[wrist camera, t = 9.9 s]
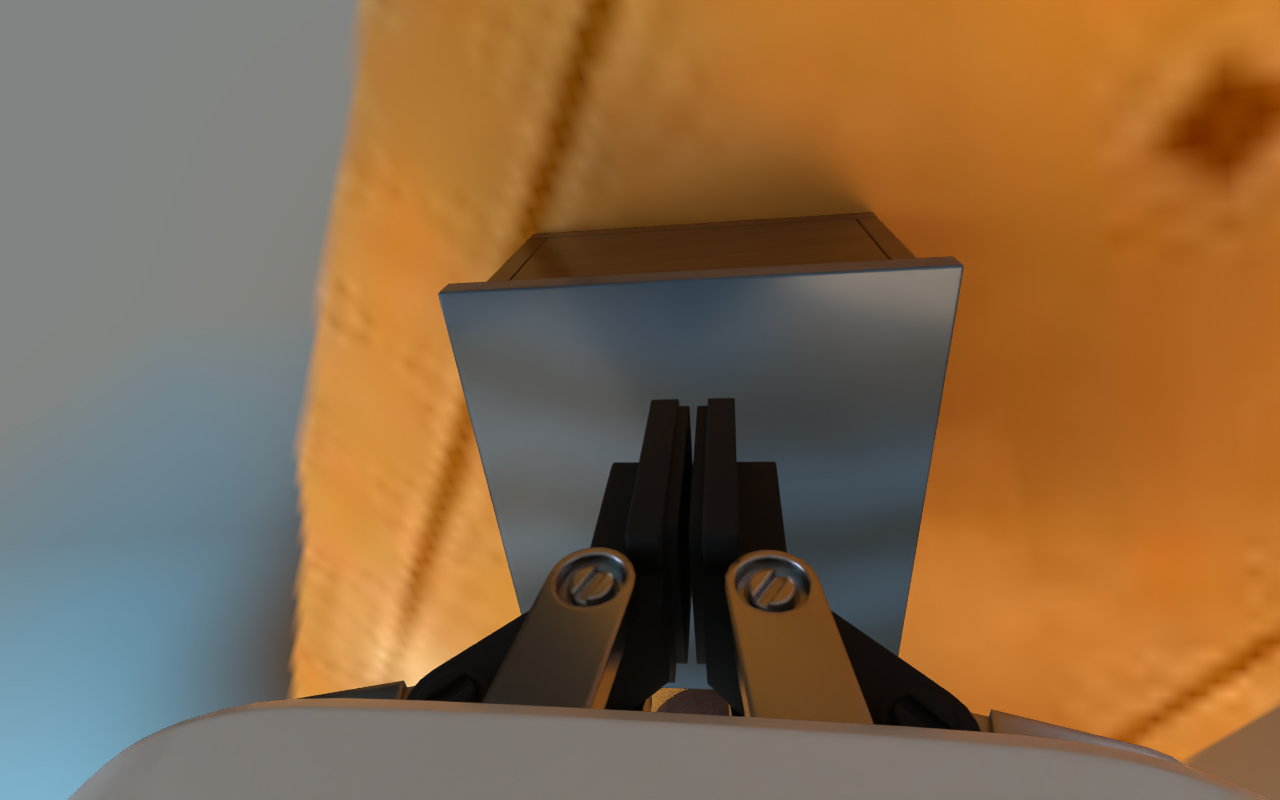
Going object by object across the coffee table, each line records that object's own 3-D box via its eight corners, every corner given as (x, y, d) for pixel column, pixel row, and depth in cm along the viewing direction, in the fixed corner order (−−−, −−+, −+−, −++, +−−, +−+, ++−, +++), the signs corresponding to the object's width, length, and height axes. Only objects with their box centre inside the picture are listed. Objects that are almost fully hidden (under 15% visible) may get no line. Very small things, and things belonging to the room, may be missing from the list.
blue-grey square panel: (447, 283, 18) (436, 292, 17) (954, 255, 16) (965, 264, 15) (543, 666, 26) (538, 684, 25) (887, 677, 24) (892, 696, 23)
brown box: (532, 233, 26) (456, 311, 18) (873, 211, 24) (947, 288, 16) (582, 524, 33) (543, 665, 26) (845, 524, 31) (886, 676, 24)
